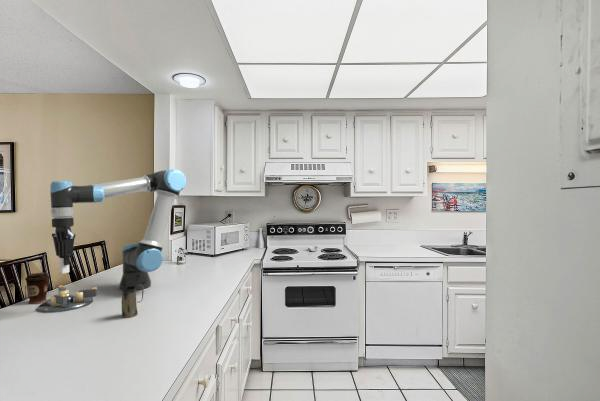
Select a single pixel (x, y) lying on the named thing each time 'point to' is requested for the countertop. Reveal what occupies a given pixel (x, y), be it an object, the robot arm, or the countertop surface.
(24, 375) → the countertop surface
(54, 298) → the knob
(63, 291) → the knob
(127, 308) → the mug
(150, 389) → the countertop surface
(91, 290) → the knob
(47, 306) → the candle tray
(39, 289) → the coffee cup
